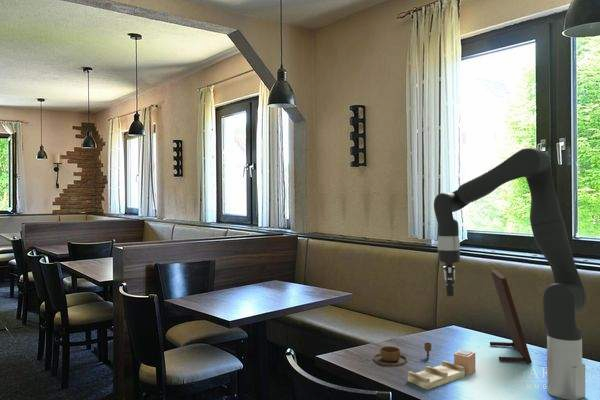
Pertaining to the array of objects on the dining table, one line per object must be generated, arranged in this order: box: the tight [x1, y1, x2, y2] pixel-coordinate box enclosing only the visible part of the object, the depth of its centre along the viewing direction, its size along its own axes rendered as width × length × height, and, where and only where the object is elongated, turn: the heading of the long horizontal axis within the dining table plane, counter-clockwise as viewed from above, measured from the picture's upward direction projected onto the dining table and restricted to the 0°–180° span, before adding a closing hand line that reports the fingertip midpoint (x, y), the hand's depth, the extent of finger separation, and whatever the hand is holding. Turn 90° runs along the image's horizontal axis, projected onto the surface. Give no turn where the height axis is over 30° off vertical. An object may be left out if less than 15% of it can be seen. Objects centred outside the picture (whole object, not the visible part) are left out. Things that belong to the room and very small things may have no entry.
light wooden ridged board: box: [407, 359, 465, 391], centre depth 157 cm, size 8×18×3 cm, turn 125°
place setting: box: [373, 342, 432, 370], centre depth 174 cm, size 18×20×6 cm
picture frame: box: [489, 268, 533, 365], centre depth 182 cm, size 21×11×30 cm, turn 168°
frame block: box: [453, 349, 477, 375], centre depth 165 cm, size 5×6×6 cm
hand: (449, 293), depth 175 cm, fingers open, 8 cm apart
